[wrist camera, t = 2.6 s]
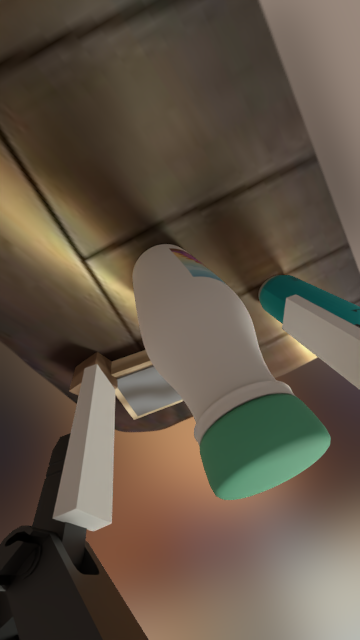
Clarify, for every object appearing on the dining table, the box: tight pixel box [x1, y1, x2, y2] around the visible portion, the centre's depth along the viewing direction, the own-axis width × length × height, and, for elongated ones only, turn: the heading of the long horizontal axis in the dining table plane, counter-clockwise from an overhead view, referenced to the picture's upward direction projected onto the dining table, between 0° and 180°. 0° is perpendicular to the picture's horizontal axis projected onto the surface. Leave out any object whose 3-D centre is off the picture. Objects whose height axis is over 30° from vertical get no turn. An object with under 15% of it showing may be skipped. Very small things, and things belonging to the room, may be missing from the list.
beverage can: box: [258, 275, 360, 325], centre depth 22 cm, size 6×6×15 cm
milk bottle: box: [132, 244, 330, 500], centre depth 14 cm, size 8×8×20 cm
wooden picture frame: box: [111, 350, 184, 420], centre depth 30 cm, size 12×12×3 cm
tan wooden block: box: [69, 352, 118, 396], centre depth 26 cm, size 4×4×4 cm
